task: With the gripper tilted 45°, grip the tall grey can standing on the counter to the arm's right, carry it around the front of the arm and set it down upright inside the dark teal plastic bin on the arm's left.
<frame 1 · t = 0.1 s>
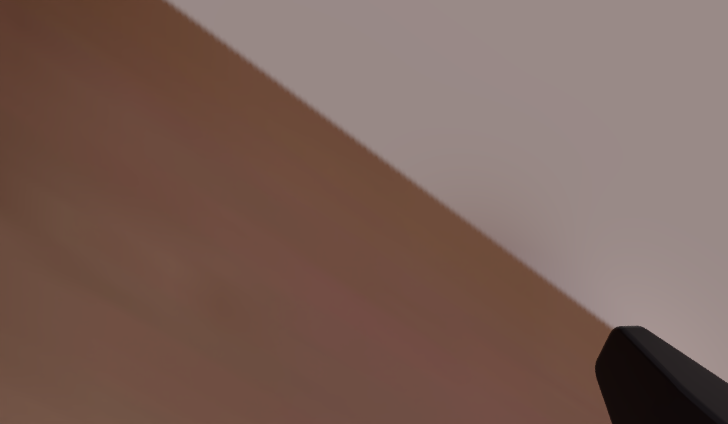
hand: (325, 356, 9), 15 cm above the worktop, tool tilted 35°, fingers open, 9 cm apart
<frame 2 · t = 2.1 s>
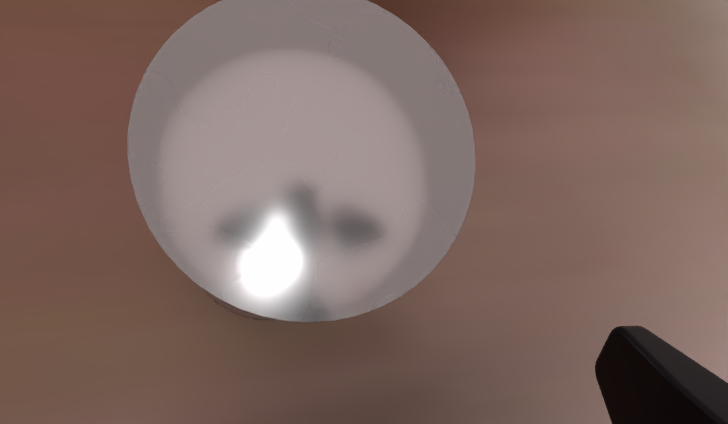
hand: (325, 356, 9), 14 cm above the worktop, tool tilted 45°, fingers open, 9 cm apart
grey can: (269, 237, 22), on the worktop
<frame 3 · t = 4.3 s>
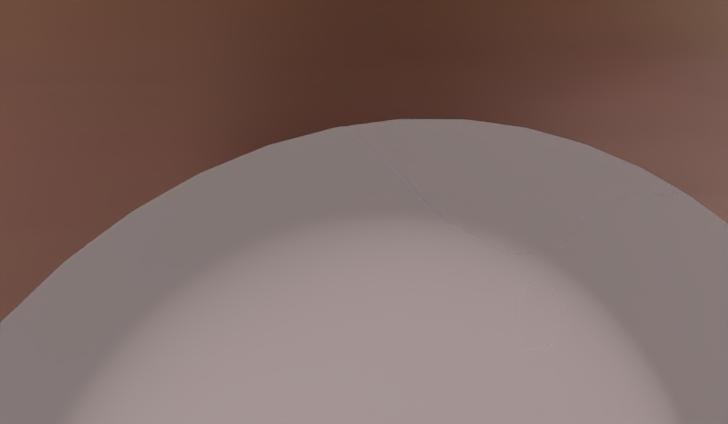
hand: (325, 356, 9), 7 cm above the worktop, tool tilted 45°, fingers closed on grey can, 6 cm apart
grey can: (284, 401, 15), on the worktop, touching gripper
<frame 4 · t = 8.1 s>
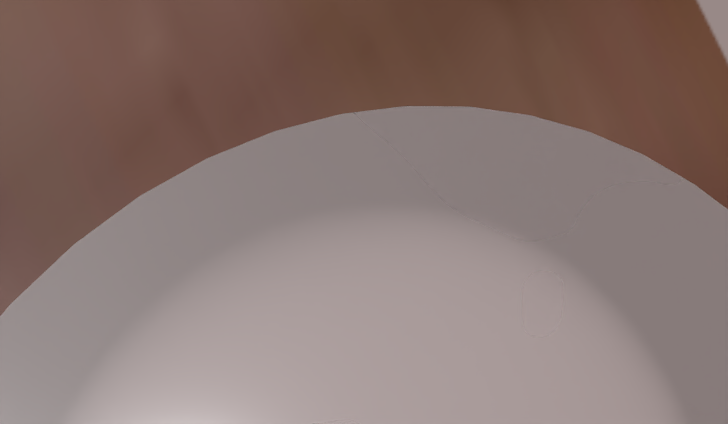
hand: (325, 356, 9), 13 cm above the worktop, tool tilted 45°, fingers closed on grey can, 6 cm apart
grey can: (286, 398, 15), point 7 cm above the worktop, touching gripper
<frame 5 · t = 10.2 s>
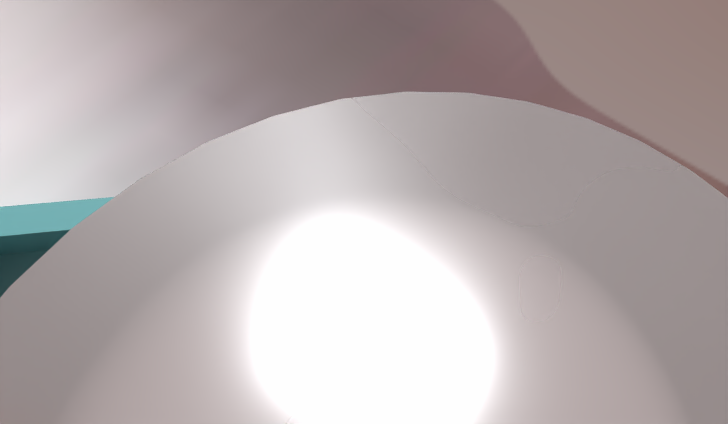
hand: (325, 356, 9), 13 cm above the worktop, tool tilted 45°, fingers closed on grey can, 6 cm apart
grey can: (285, 394, 15), point 7 cm above the worktop, touching gripper
teal bin: (151, 397, 20), on the worktop
when the fingers open (9 cm above the worktop, at t = 12.1 s): grey can drops 1 cm, resting on teal bin.
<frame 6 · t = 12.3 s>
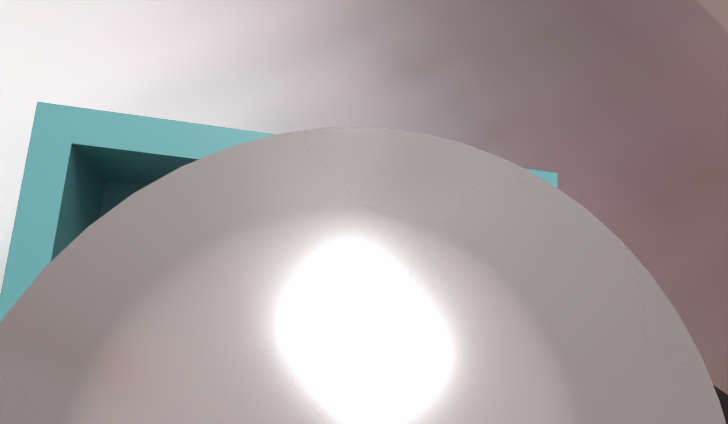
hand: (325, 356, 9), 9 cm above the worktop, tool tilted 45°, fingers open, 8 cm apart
grey can: (281, 391, 16), point 1 cm above the worktop, touching teal bin
teal bin: (278, 389, 17), on the worktop
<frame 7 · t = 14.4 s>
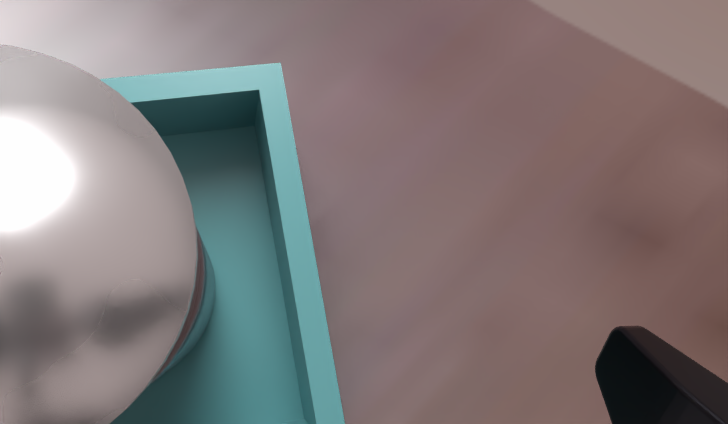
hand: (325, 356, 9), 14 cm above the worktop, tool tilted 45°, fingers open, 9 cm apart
grey can: (121, 291, 20), point 1 cm above the worktop, touching teal bin
teal bin: (127, 295, 21), on the worktop
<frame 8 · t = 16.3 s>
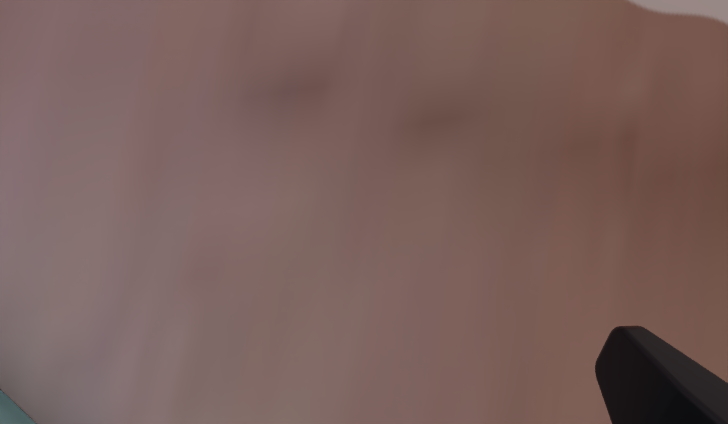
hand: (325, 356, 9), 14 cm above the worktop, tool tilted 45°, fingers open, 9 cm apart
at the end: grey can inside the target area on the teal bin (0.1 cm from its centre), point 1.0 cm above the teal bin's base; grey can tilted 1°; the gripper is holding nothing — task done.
